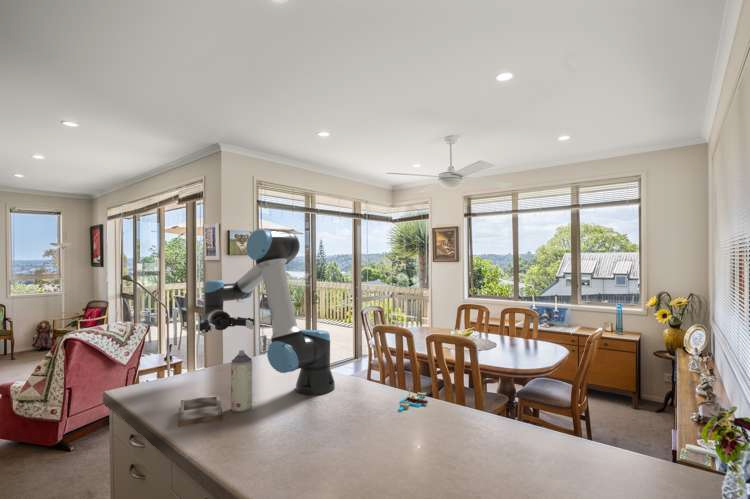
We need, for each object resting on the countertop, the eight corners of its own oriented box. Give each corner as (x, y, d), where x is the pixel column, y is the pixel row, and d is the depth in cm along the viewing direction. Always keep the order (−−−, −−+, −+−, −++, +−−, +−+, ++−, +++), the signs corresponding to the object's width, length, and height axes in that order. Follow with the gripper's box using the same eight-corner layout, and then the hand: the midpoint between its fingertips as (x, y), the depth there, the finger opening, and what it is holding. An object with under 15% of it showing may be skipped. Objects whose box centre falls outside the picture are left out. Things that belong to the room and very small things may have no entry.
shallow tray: (220, 405, 142) (220, 394, 142) (222, 419, 130) (222, 406, 130) (179, 411, 136) (179, 399, 136) (178, 426, 124) (178, 413, 125)
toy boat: (438, 398, 149) (415, 393, 155) (438, 383, 150) (415, 379, 155) (413, 416, 133) (389, 410, 138) (413, 399, 133) (389, 394, 138)
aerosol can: (235, 405, 142) (235, 348, 142) (254, 405, 142) (254, 348, 142) (228, 413, 135) (228, 353, 135) (248, 412, 135) (248, 353, 135)
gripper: (249, 326, 172) (266, 334, 154) (186, 332, 158) (196, 342, 140) (249, 308, 172) (266, 314, 154) (186, 313, 158) (196, 320, 140)
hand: (233, 327), depth 147 cm, fingers open, 13 cm apart
